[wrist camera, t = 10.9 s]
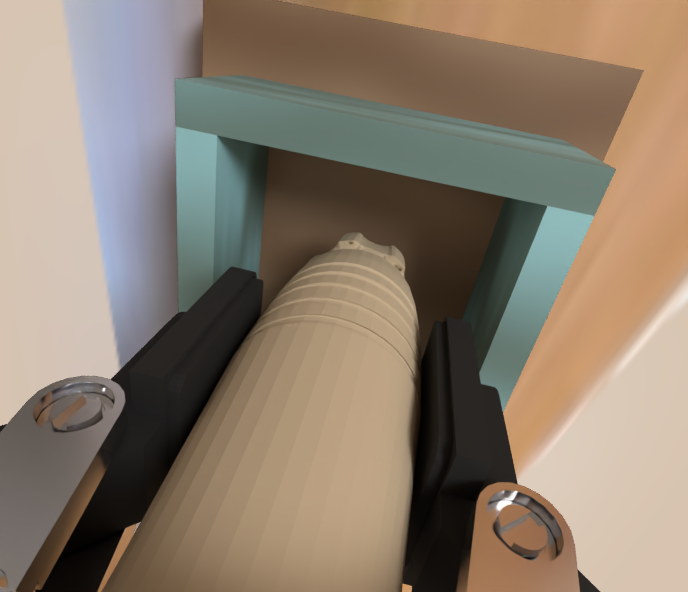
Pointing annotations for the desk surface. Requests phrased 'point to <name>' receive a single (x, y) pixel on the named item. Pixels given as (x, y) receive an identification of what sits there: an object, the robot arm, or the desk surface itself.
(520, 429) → the desk surface
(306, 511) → the handle
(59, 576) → the robot arm
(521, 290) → the teal open box
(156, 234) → the desk surface
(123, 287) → the desk surface
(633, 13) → the desk surface
